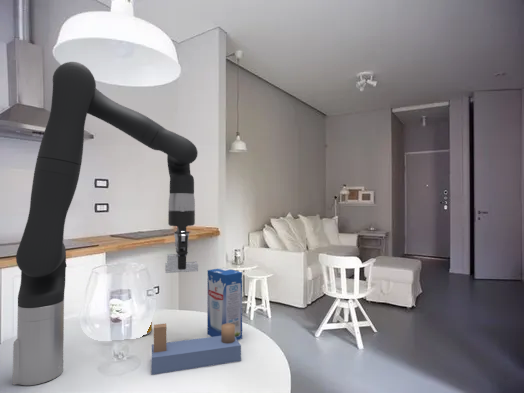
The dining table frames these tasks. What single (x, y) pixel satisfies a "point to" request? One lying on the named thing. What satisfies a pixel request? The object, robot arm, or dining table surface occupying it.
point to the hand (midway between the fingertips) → (181, 267)
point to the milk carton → (224, 301)
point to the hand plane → (193, 350)
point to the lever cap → (173, 265)
